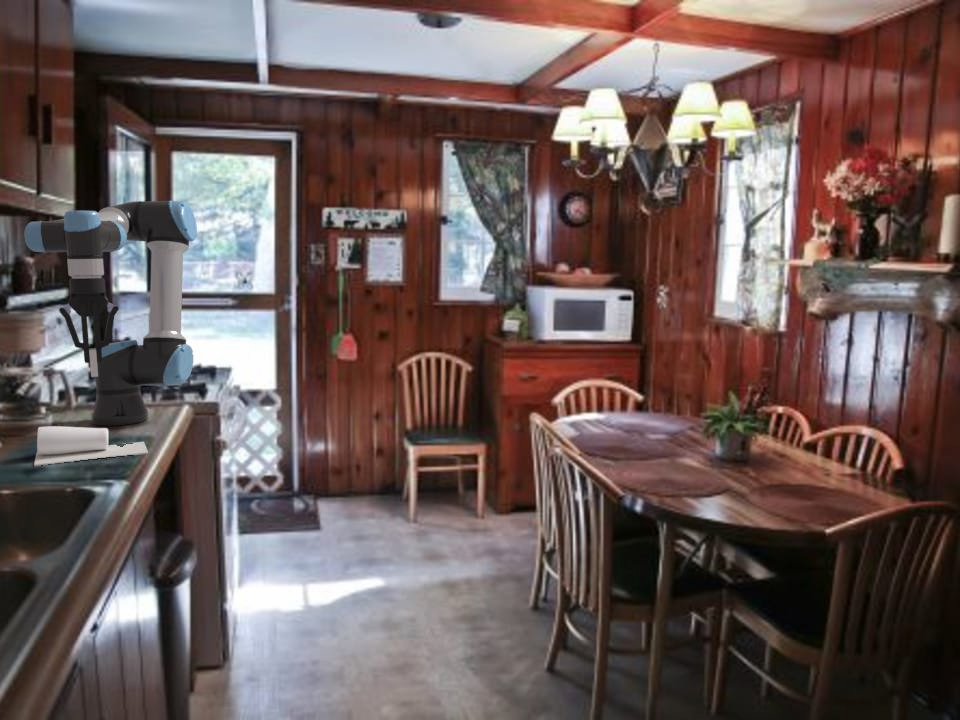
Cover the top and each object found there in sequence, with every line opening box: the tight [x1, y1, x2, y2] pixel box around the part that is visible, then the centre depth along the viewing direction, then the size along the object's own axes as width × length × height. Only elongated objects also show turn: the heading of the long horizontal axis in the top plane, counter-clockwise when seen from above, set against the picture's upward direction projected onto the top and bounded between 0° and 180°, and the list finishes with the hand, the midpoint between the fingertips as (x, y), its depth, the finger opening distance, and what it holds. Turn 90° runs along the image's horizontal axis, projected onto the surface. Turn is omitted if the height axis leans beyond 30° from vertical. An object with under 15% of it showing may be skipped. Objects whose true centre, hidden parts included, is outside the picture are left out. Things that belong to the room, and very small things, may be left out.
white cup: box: [36, 425, 110, 455], centre depth 189 cm, size 7×7×15 cm
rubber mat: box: [33, 441, 149, 467], centre depth 190 cm, size 24×13×1 cm, turn 117°
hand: (94, 375), depth 189 cm, fingers closed
